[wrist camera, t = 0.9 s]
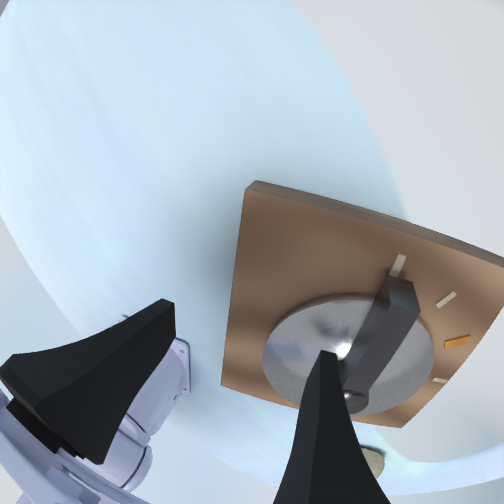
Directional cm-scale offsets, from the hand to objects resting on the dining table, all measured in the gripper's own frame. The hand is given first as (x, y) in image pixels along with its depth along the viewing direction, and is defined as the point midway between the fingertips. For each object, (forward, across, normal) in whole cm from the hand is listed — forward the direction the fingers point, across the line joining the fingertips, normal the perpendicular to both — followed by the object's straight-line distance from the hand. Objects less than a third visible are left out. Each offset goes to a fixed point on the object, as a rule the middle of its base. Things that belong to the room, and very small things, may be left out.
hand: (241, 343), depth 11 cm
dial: (+6, -7, +5) cm, 10 cm away
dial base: (+8, -6, +6) cm, 12 cm away
